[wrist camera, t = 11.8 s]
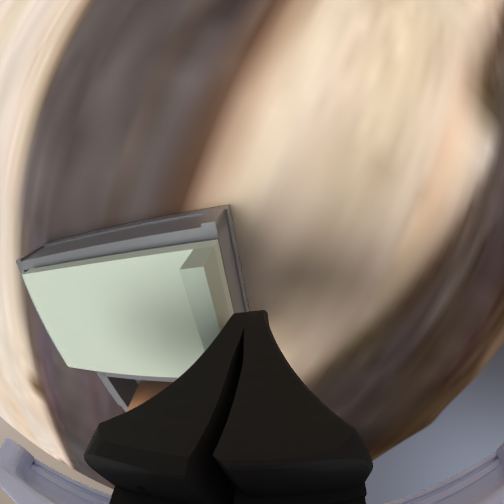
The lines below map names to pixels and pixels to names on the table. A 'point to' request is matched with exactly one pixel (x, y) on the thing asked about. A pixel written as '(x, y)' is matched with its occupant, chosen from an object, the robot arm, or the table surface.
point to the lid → (135, 308)
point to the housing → (143, 238)
